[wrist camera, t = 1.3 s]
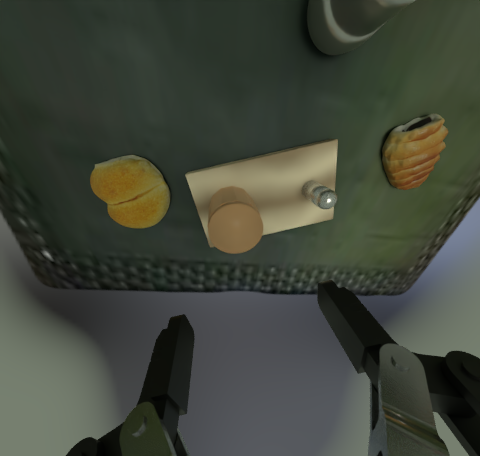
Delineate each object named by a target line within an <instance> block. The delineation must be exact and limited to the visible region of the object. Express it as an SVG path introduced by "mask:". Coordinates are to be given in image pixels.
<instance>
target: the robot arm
mask: <svg viewBox="0 0 480 456" xmlns="http://www.w3.org/2000/svg"><path fill="white" fill-rule="evenodd" d="M318 304H319V307H320V309H321V311H322V313H323V315H324V316H325V318H326V320H327V321H328V323H329V325H330V326H331V328H332V330H333V332H334V333H335V335H336V337H337V338H338V340H339V342H340V344H341V345H342V347H343V349H344V350H345V352H346V354H347V356H348V357H349V359H350V361H351V362H352V364H353V366H354V368H355V369H356V371H357V373H363V372H366V374H367V375H368V377H369V379H370V436H369V446H368V456H449V452H448V449H447V447H446V445H445V443H444V441H443V440H442V439H440V437H439V436H438V433H437V430H436V425H435V420H434V415H433V412H438V414H439V415H440V416H441V418H442V419H443V420H444V422H445V423H446V425H447V426H448V427H449V428H450V430H451V431H452V433H453V434H454V435H455V437H456V438H457V440H458V441H459V442H460V443H461V445H462V446H463V448H464V449H465V450H466V452H467V453H468V454H469V456H480V359H479V358H478V357H476V356H473V355H471V354H469V353H466V352H462V351H451V352H449V353H448V354H447V355H446V356H445V357H439V356H431V355H422V354H417V353H413V352H411V351H409V350H408V349H406V348H404V347H403V346H400V345H398V344H397V343H396V342H395V341H394V340H393V339H392V338H391V337H390V336H389V335H388V334H387V332H386V331H385V330H384V329H383V328H382V326H381V325H380V324H379V323H378V322H377V321H376V319H375V318H374V317H373V316H372V315H371V313H370V312H369V311H367V309H366V308H365V307H364V305H363V304H361V302H360V301H359V299H358V298H357V297H356V296H355V294H354V293H352V292H351V291H349V290H348V289H346V288H345V287H342V288H338V287H337V285H336V284H335V283H334V282H333V281H332V280H328V281H324V282H320V283H318ZM193 348H194V331H193V328H192V326H191V325H190V323H189V321H188V319H187V317H186V316H185V315H184V314H183V315H179V316H175V317H171V318H170V320H169V324H168V328H167V329H163V330H162V331H161V333H160V335H159V336H158V338H157V339H156V343H155V346H154V350H153V353H152V357H151V362H150V364H149V367H148V371H147V374H146V378H145V381H144V385H143V388H142V392H141V395H140V398H139V401H138V403H137V405H136V407H135V408H134V409H133V410H132V411H131V412H130V413H129V415H128V416H127V418H126V419H125V421H124V422H123V423H122V424H121V425H119V426H118V427H116V428H115V429H114V430H112V431H111V432H109V433H107V434H106V435H104V436H103V437H101V438H100V439H98V440H96V439H94V438H92V437H88V438H85V439H83V440H81V441H80V442H79V443H77V444H76V445H75V446H74V447H73V448H72V449H71V450H70V451H69V452H68V454H67V455H66V456H190V454H189V452H188V449H187V447H186V445H185V442H184V440H183V438H182V436H181V433H180V431H179V429H178V427H177V426H178V419H179V416H180V415H184V414H187V406H188V396H189V387H190V377H191V367H192V358H193Z"/></svg>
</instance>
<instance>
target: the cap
mask: <svg viewBox="0 0 480 456" xmlns="http://www.w3.org/2000/svg"><path fill="white" fill-rule="evenodd" d="M207 227H208V235H209V238H210V240H211V242H212V244H213V245H214V246H215V247H216V248H218V249H219V250H221V251H223V252H226V253H232V254H236V253H242V252H246V251H248V250H250V249H251V248H253V247H254V246H255V245H256V244H257V243H258V242H259V241H260V239H261V237H262V234H263V222H262V219H261V217H260V213H259V211H258V209H257V207H256V205H255V203H254V201H253V200H252V198H251V197H250V195H249V194H248V193H247V192H246V191H245V190H244V189H242V188H238V187H235V186H229V187H225V188H221V189H220V190H218V191H217V192H216V193H215V194H214V195H213V196H212V198H211V202H210V206H209V213H208V224H207Z"/></svg>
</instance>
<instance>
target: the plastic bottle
mask: <svg viewBox="0 0 480 456" xmlns="http://www.w3.org/2000/svg"><path fill="white" fill-rule="evenodd" d="M414 1H416V0H309V2H308V9H307V24H308V31H309V34H310V37H311V39H312V41H313V43H314V45H315V46H316V47H317V48H318V49H319V50H320V51H321V52H323V53H325V54H327V55H340V54H344V53H347V52H350V51H352V50H355V49H356V48H358V47H359V46H361V45H362V44H363V43H364V42H365V41H367V40H368V39H369V38H370V37H371V36H372V35H373V34H374V33H375V32H376V31H377V30H378V29H379V28H380V27H381V26H382V25H383V24H385V23H386V22H387V21H389V20H390V19H391V18H392V17H394V16H395V15H396V14H398V13H399V12H400V11H401V10H403V9H404V8H405V7H407V6H408V5H409V4H410V3H412V2H414Z"/></svg>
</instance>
